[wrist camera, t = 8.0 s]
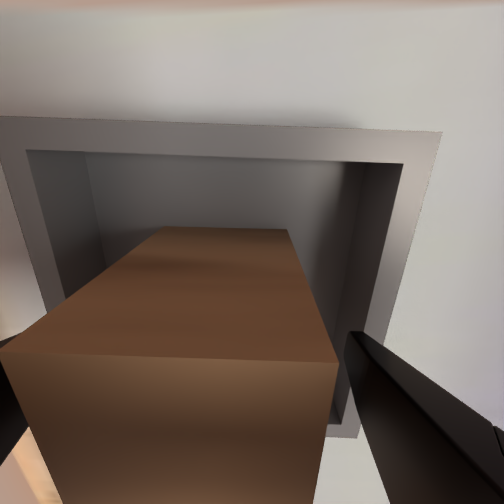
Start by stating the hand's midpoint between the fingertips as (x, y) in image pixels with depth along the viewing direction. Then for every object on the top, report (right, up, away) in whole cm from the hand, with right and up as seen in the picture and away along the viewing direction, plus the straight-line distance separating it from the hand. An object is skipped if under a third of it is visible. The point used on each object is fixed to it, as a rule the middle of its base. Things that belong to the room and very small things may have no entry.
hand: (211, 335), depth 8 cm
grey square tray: (0, +2, +4) cm, 4 cm away
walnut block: (0, +1, +3) cm, 4 cm away
